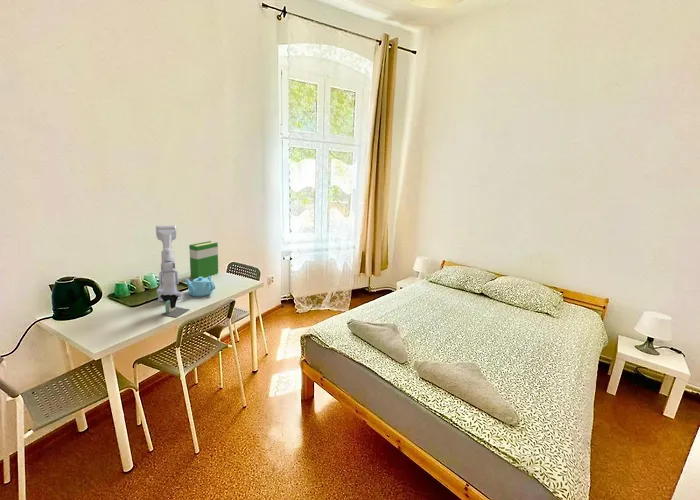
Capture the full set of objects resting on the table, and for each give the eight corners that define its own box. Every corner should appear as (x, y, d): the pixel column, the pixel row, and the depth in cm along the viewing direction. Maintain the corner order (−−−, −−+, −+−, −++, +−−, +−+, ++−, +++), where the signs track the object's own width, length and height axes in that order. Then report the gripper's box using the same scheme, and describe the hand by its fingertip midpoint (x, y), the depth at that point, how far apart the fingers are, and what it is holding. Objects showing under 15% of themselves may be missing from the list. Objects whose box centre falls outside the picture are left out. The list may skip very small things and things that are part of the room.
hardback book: (211, 271, 237) (210, 241, 231) (218, 273, 234) (217, 242, 228) (190, 277, 221) (189, 245, 216) (198, 280, 218) (196, 246, 213)
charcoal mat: (161, 314, 165) (161, 314, 165) (175, 307, 174) (175, 306, 174) (176, 317, 163) (176, 316, 163) (189, 310, 173) (189, 309, 173)
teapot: (188, 299, 186) (188, 282, 184) (185, 291, 198) (184, 274, 196) (216, 295, 195) (215, 279, 192) (211, 287, 207) (210, 272, 204)
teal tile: (165, 312, 167) (165, 302, 166) (172, 308, 172) (172, 298, 170) (169, 313, 167) (168, 302, 165) (175, 309, 171) (175, 299, 170)
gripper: (151, 283, 163) (153, 307, 166) (175, 287, 160) (177, 312, 164) (161, 279, 170) (163, 302, 173) (185, 283, 167) (186, 306, 170)
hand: (170, 307), depth 169 cm, fingers open, 3 cm apart
